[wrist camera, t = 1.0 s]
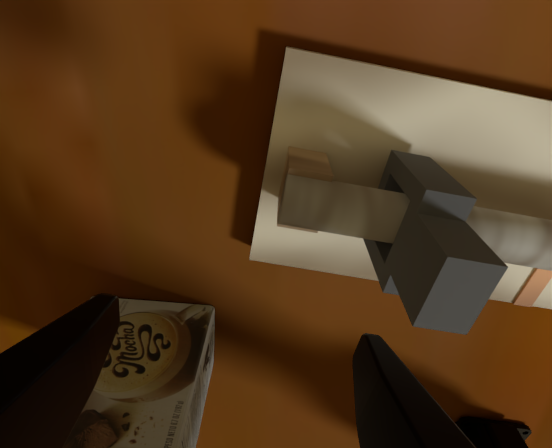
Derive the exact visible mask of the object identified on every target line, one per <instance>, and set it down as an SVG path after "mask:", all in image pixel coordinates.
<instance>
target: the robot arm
mask: <svg viewBox="0 0 552 448" xmlns="http://www.w3.org/2000/svg"><path fill="white" fill-rule="evenodd" d="M119 324H120V310H119V298H118V296H116V295H111V294H105V293H101V294H98V295H96V296H95V297H93V298H91V299H90V300H88V301H86V302H85V303H83V304H81V305H80V306H78V307H76V308H75V309H73V310H71V311H70V312H68V313H66V314H65V315H63V316H61V317H60V318H58V319H57V320H55V321H53V322H52V323H50V324H48V325H47V326H45V327H43V328H42V329H40V330H38V331H37V332H35V333H33V334H32V335H30V336H28V337H27V338H25V339H23V340H22V341H20V342H18V343H17V344H15V345H13V346H12V347H10V348H9V349H7V350H5V351H4V352H2V353H0V448H63V446H64V444H65V442H66V440H67V438H68V436H69V435H70V433H71V431H72V429H73V427H74V425H75V423H76V422H77V420H78V418H79V416H80V414H81V412H82V410H83V408H84V407H85V405H86V403H87V401H88V399H89V397H90V395H91V393H92V391H93V389H94V387H95V385H96V382H97V380H98V378H99V375H100V373H101V370H102V368H103V365H104V363H105V360H106V358H107V355H108V353H109V350H110V348H111V346H112V343H113V341H114V338H115V336H116V333H117V331H118V328H119ZM353 379H354V396H355V413H356V424H357V431H358V438H359V444H360V448H528V446H527V445H526V443H525V439H526V438H527V437H528V436H529V435H530V434H531V430H530V428H529V427H528V426H527V425H520V424H513V423H506V422H499V421H492V420H485V419H478V418H471V417H462V418H460V419H459V421H458V422H457V423H456V424H455V423H454V422H453V420H452V419H451V418H450V417H449V416H448V415H447V413H446V412H445V411H444V410H443V409H442V408H441V406H440V405H439V404H438V403H437V402H436V401H435V399H434V398H433V397H432V396H431V395H430V394H429V392H428V391H427V390H426V389H425V388H424V387H423V385H422V384H421V383H420V382H419V381H418V380H417V378H416V377H415V376H414V375H413V374H412V373H411V371H410V370H409V369H408V368H407V367H406V366H405V364H404V363H403V362H402V361H401V360H400V359H399V357H398V356H397V355H396V354H395V353H394V352H393V351H392V349H391V348H390V347H389V346H388V345H387V344H386V342H385V341H384V340H383V339H382V338H381V337H380V336H378V335H374V334H368V333H365V334H363V335H362V336H361V338H360V341H359V343H358V345H357V348H356V350H355V353H354V355H353Z"/></svg>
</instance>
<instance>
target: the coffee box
mask: <svg viewBox="0 0 552 448" xmlns="http://www.w3.org/2000/svg"><path fill="white" fill-rule="evenodd" d="M93 297H94V296H93ZM93 297H91V298H93ZM91 298H90V299H91ZM119 310H120V324H119V328H118V331H117V333H116V336H115V338H114V341H113V343H112V346H111V348H110V350H109V353H108V355H107V358H106V360H105V363H104V365H103V368H102V370H101V373H100V375H99V378H98V380H97V382H96V385H95V387H94V389H93V391H92V393H91V395H90V397H89V399H88V401H87V403H86V405H85V407H84V408H83V410H82V412H81V414H80V416H79V418H78V420H77V422H76V423H75V425H74V427H73V429H72V431H71V433H70V435H69V436H68V438H67V440H66V442H65V444H64V446H63V448H196V443H197V439H198V434H199V429H200V424H201V419H202V415H203V409H204V404H205V400H206V395H207V390H208V386H209V381H210V377H211V372H212V367H213V363H214V330H215V308H214V307H213V306H211V305H199V304H186V303H173V302H160V301H147V300H134V299H120V298H119Z"/></svg>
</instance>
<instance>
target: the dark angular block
mask: <svg viewBox="0 0 552 448" xmlns="http://www.w3.org/2000/svg"><path fill="white" fill-rule="evenodd" d="M378 189H382V190H387V191H393V192H399V193H404V194H406V196H407V197H408V198H409V200H410V203H409V205H408V208H407V210H406V213H405V215H404V217H403V220H402V222H401V225H400V227H399V230H398V232H397V235H396V237H395V240H394V242H393V244H392V243H386V242H380V241H374V240H369V239H363V240H364V242H365V245H366V248H367V251H368V253H369V256H370V259H371V261H372V264H373V267H374V270H375V272H376V275H377V278H378V280H379V283H380V286H381V288H382V291H383V293H390V294H396V295H400V298H401V300H402V302H403V305H404V307H405V309H406V312H407V314H408V316H409V319H410V321H411V324H412V326H414V327H421V328H427V329H433V330H440V331H446V332H453V333H459V334H466V335H467V333H468V332H469V330H470V328H471V327H472V325H473V323H474V322H475V320H476V319H477V317H478V315H479V314H480V312H481V310H482V309H483V307H484V306H485V304H486V302H487V301H488V299H489V298H490V296H491V294H492V293H493V291H494V289H495V288H496V286H497V285H498V283H499V281H500V280H501V278H502V276H503V275H504V273H505V272H506V270H507V268H508V266H507V265H506V264H505V263H504V262H503V261H502V260H501V259H500V258H499V257H498V256H497V255H496V254H495V252H494V251H493V250H492V249H491V248H490V247H489V246H488V245H487V244H486V243H485V242H484V241H483V240H482V239H481V238H480V237H479V235H478V234H477V233H476V232H475V231H474V230H473V229H472V228H471V227H470V226H469V225H468V224H467V223H466V220H467V218H468V216H469V214H470V212H471V210H472V208H473V206H474V204H475V202H476V200H477V198H476V197H475V196H474V195H472V194H471V193H470V192H469V191H468V190H467V189H466V188H464V187H463V186H462V185H461V184H460V183H459V182H458V181H456V180H455V179H454V178H453V177H452V176H451V175H450V174H449V173H447V172H446V171H445V170H444V169H443V168H442V167H441V166H439V165H438V164H437V163H436V162H435V161H434V160H433V159H432V158H430V157H427V156H422V155H417V154H411V153H406V152H401V151H396V150H391V152H390V155H389V158H388V161H387V163H386V166H385V169H384V172H383V175H382V178H381V181H380V184H379V186H378Z"/></svg>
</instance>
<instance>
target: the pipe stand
mask: <svg viewBox="0 0 552 448" xmlns="http://www.w3.org/2000/svg"><path fill="white" fill-rule="evenodd" d="M391 150H396V151H401V152H406V153H411V154H417V155H422V156H427V157H430V158H432V159H433V160H434V161H435V162H436V163H437V164H438V165H439V166H441V167H442V168H443V169H444V170H445V171H446V172H447V173H449V174H450V175H451V176H452V177H453V178H454V179H455V180H456V181H458V182H459V183H460V184H461V185H462V186H463V187H464V188H466V189H467V190H468V191H469V192H470V193H471V194H472V195H474V196H475V197H476V198H477V200H476V202H475V204H474V206H473V208H472V210H471V212H470V214H469V216H468V218H467V220H466V223H467V224H468V225H469V226H470V227H471V228H472V229H473V230H474V231H475V232H476V233H477V234H478V235H479V237H480V238H481V239H482V240H483V241H484V242H485V243H486V244H487V245H488V246H489V247H490V248H491V249H492V250H493V251H494V252H495V254H496V255H497V256H498V257H499V258H500V259H501V260H502V261H503V262H504V263H505V264H506V265H507V266H508V268H507V270H506V272H505V273H504V275H503V276H502V278H501V280H500V281H499V283H498V285H497V286H496V288H495V289H494V291H493V293H492V294H491V296H490V298H489V299H493V300H499V301H505V302H511V303H513V304H515V305H521V306H527V307H531V306H535V307H541V308H548V309H552V100H548V99H543V98H538V97H533V96H528V95H523V94H518V93H513V92H508V91H504V90H499V89H494V88H489V87H484V86H479V85H474V84H469V83H464V82H460V81H455V80H450V79H445V78H440V77H435V76H430V75H425V74H420V73H416V72H411V71H406V70H401V69H396V68H391V67H386V66H381V65H376V64H372V63H367V62H362V61H357V60H352V59H347V58H342V57H337V56H332V55H327V54H323V53H318V52H313V51H308V50H303V49H298V48H293V47H288V46H286V51H285V57H284V62H283V68H282V74H281V80H280V85H279V91H278V97H277V103H276V108H275V114H274V120H273V125H272V131H271V137H270V143H269V148H268V154H267V160H266V166H265V171H264V177H263V183H262V188H261V194H260V200H259V206H258V211H257V217H256V223H255V229H254V234H253V240H252V246H251V252H250V258H249V260H254V261H260V262H267V263H273V264H279V265H285V266H291V267H297V268H303V269H309V270H315V271H322V272H328V273H334V274H340V275H346V276H352V277H358V278H364V279H370V280H377V281H379V280H378V278H377V275H376V272H375V270H374V267H373V264H372V261H371V259H370V256H369V253H368V251H367V248H366V245H365V242H364V240H363V239H369V240H374V241H380V242H386V243H392V244H393V242H394V240H395V237H396V235H397V232H398V230H399V227H400V225H401V222H402V220H403V217H404V215H405V213H406V210H407V208H408V205H409V203H410V200H409V198H408V197H407V196H406V194H404V193H399V192H393V191H387V190H382V189H378V186H379V184H380V181H381V178H382V175H383V172H384V169H385V166H386V163H387V161H388V158H389V155H390V152H391Z"/></svg>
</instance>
